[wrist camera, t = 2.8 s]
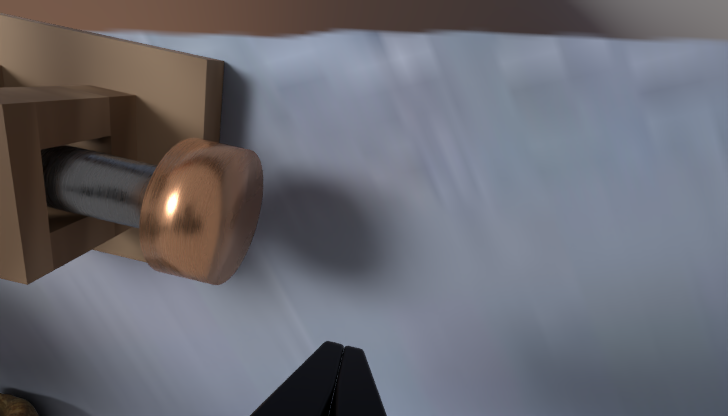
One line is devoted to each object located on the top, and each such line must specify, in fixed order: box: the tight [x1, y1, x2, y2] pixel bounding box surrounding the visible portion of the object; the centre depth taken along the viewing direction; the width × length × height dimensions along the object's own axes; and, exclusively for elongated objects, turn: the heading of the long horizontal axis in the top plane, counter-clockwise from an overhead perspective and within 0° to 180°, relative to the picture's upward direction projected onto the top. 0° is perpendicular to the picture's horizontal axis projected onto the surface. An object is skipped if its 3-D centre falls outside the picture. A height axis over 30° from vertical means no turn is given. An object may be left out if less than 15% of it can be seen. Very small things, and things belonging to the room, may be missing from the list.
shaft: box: [41, 138, 263, 285], centre depth 14 cm, size 12×5×5 cm, turn 79°
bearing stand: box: [0, 13, 224, 285], centre depth 15 cm, size 14×10×7 cm
